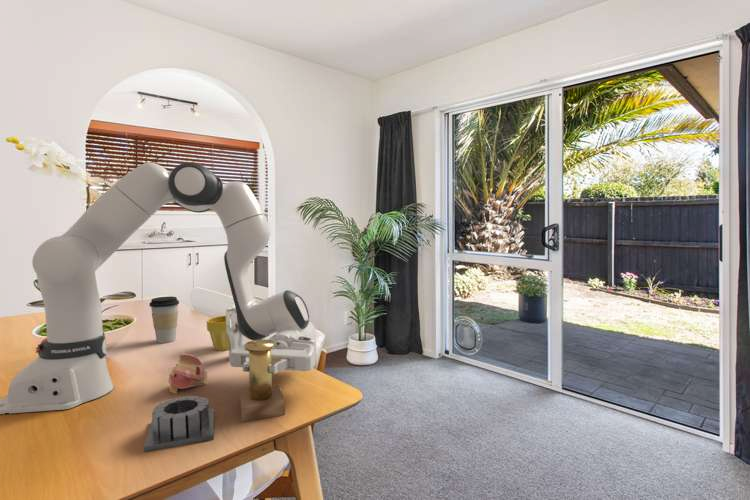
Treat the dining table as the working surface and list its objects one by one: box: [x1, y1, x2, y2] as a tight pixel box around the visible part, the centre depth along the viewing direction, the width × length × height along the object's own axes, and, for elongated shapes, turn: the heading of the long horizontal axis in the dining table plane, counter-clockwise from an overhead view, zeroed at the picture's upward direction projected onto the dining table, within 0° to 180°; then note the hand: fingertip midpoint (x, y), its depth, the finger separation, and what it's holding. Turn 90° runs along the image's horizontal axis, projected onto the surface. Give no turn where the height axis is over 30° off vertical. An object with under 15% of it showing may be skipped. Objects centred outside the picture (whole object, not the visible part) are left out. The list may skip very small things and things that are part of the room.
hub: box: [143, 395, 215, 453], centre depth 85 cm, size 12×12×5 cm
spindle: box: [245, 338, 275, 401], centre depth 94 cm, size 6×6×12 cm
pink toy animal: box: [168, 353, 208, 394], centre depth 107 cm, size 9×10×10 cm
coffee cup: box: [149, 296, 180, 344], centre depth 147 cm, size 9×9×15 cm
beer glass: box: [225, 307, 249, 359], centre depth 129 cm, size 7×7×15 cm
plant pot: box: [206, 315, 229, 351], centre depth 139 cm, size 10×10×10 cm
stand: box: [238, 385, 286, 422], centre depth 94 cm, size 9×9×3 cm
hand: (258, 369), depth 93 cm, fingers closed on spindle, 5 cm apart
